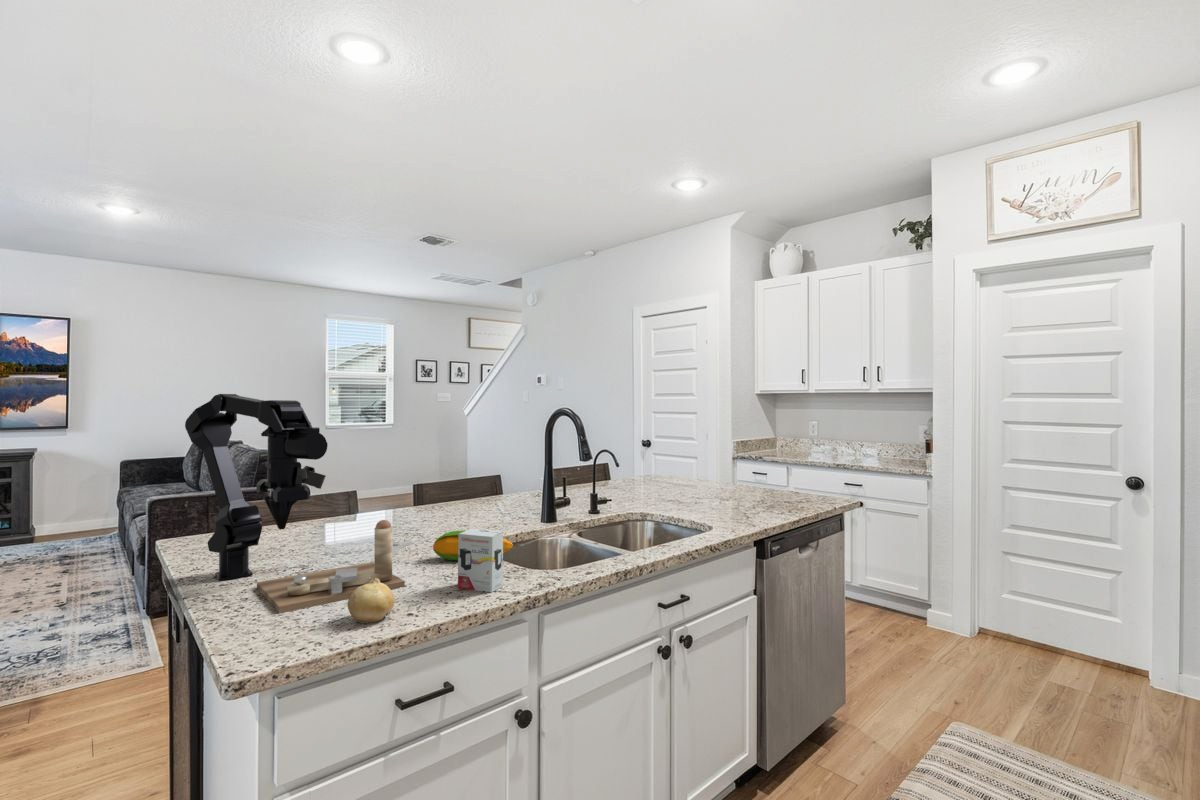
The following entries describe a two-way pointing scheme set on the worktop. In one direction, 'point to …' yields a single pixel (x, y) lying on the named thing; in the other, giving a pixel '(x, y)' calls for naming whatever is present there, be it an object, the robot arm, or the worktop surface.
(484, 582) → the ink box
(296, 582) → the keeper
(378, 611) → the onion
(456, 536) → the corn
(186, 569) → the worktop surface
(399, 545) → the adjustable wrench
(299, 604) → the walnut board
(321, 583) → the wooden crank lever
